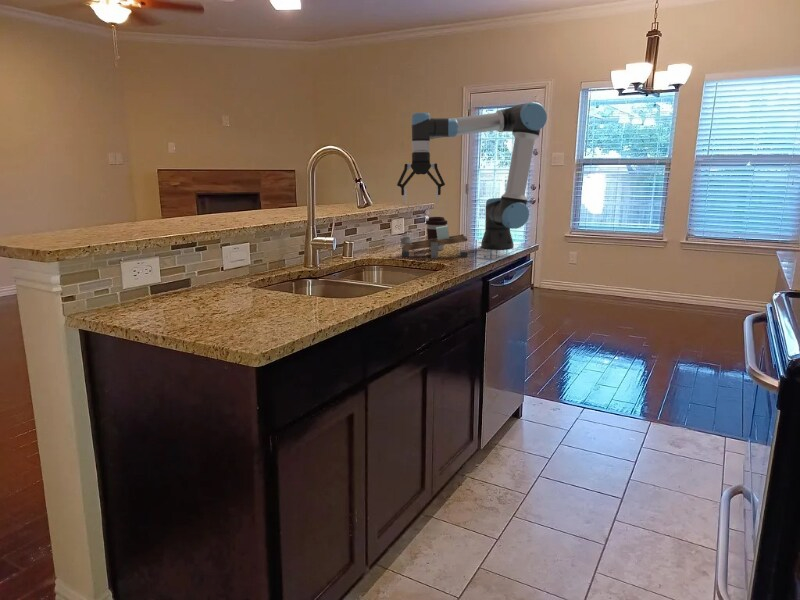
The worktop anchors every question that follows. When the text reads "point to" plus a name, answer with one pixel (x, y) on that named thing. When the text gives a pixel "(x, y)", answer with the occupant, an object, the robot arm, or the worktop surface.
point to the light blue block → (442, 232)
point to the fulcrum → (435, 251)
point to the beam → (429, 242)
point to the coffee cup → (431, 228)
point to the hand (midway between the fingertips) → (421, 203)
